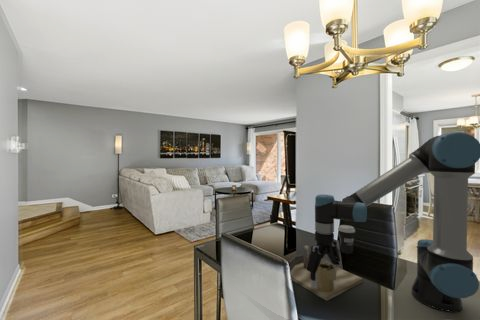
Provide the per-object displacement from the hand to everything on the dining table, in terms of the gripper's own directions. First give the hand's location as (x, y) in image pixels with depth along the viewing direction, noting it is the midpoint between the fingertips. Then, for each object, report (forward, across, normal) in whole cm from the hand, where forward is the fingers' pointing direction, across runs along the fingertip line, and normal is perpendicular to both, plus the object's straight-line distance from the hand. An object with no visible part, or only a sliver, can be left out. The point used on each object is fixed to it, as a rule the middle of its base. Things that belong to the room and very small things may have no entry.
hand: (324, 283), depth 97 cm
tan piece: (+2, 0, 0) cm, 2 cm away
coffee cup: (+4, -46, -19) cm, 50 cm away
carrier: (+3, -8, -8) cm, 12 cm away
